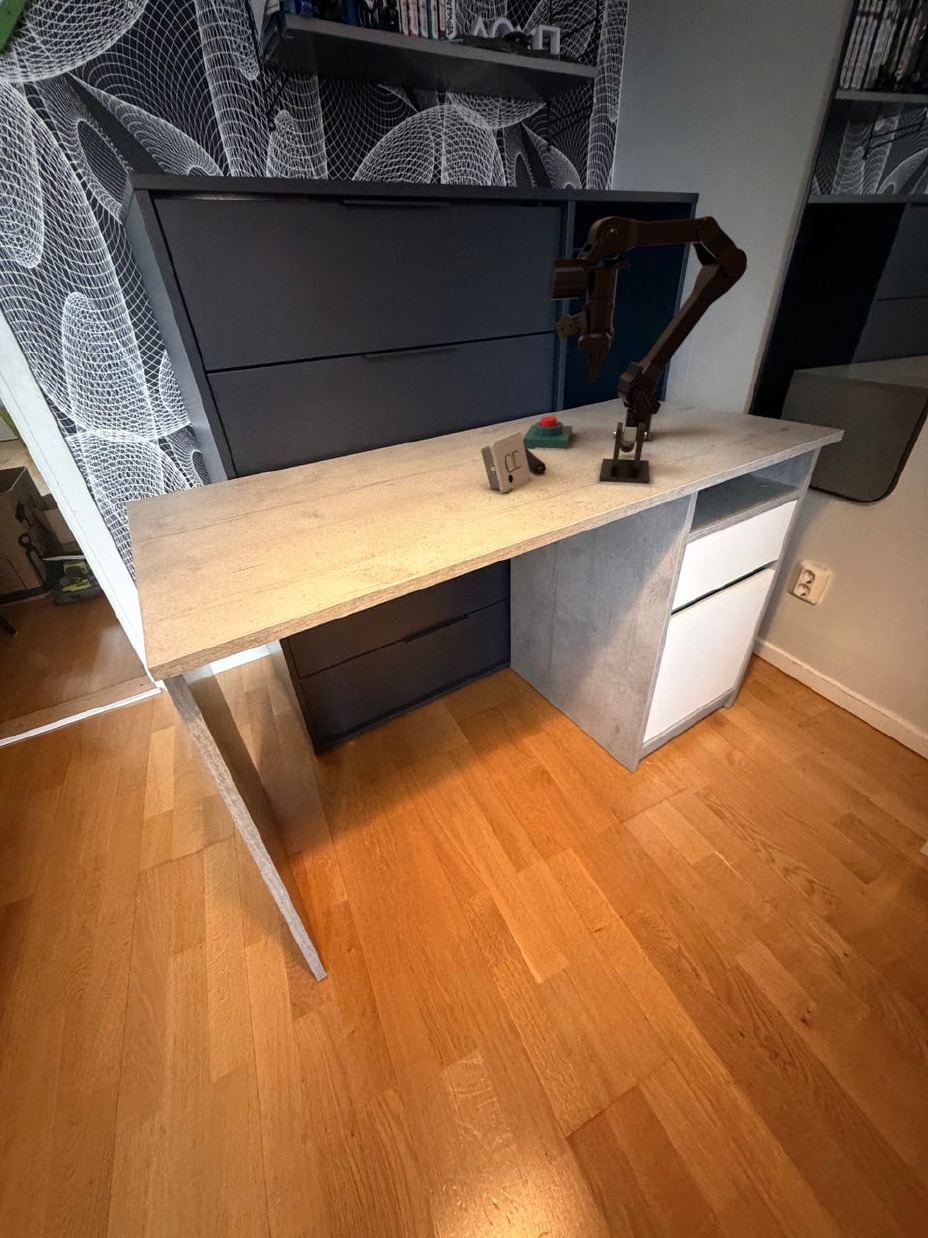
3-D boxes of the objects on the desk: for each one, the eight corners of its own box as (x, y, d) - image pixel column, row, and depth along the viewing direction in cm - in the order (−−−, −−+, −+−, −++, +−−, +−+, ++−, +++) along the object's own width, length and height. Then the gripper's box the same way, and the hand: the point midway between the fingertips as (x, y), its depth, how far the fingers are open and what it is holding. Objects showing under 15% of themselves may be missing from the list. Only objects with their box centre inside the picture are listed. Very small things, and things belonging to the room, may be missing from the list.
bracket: (602, 464, 102) (607, 417, 97) (647, 466, 100) (655, 418, 95) (599, 482, 94) (604, 433, 89) (648, 485, 92) (657, 434, 86)
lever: (618, 453, 105) (620, 438, 105) (633, 453, 104) (635, 439, 104) (620, 442, 92) (622, 425, 91) (637, 442, 91) (639, 425, 91)
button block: (531, 433, 123) (532, 417, 121) (571, 435, 120) (573, 418, 118) (522, 448, 114) (523, 430, 111) (566, 450, 111) (567, 431, 109)
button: (542, 423, 117) (542, 416, 116) (557, 424, 116) (557, 416, 115) (539, 427, 114) (540, 420, 113) (555, 428, 113) (555, 420, 112)
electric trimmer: (532, 479, 98) (532, 463, 96) (506, 455, 110) (506, 441, 108) (549, 476, 99) (550, 461, 97) (521, 453, 111) (522, 439, 109)
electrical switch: (504, 494, 92) (500, 443, 87) (482, 492, 95) (477, 442, 90) (531, 479, 97) (528, 431, 92) (509, 477, 100) (506, 430, 95)
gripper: (565, 295, 108) (560, 373, 117) (554, 302, 94) (549, 390, 103) (617, 293, 105) (608, 373, 114) (614, 299, 91) (604, 390, 100)
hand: (592, 381), depth 108 cm, fingers closed
